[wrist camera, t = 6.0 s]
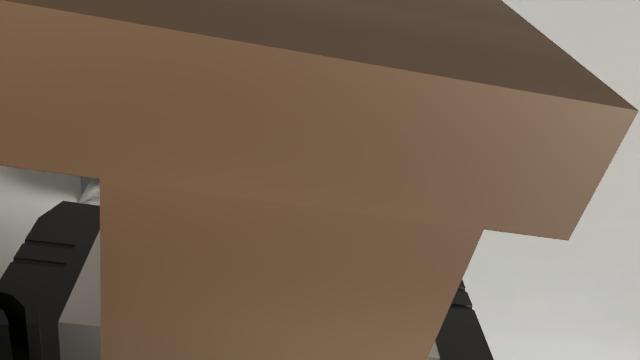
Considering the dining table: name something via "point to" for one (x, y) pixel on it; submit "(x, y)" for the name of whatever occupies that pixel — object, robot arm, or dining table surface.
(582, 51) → the dining table surface
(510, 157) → the wooden arch bridge
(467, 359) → the robot arm
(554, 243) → the dining table surface
